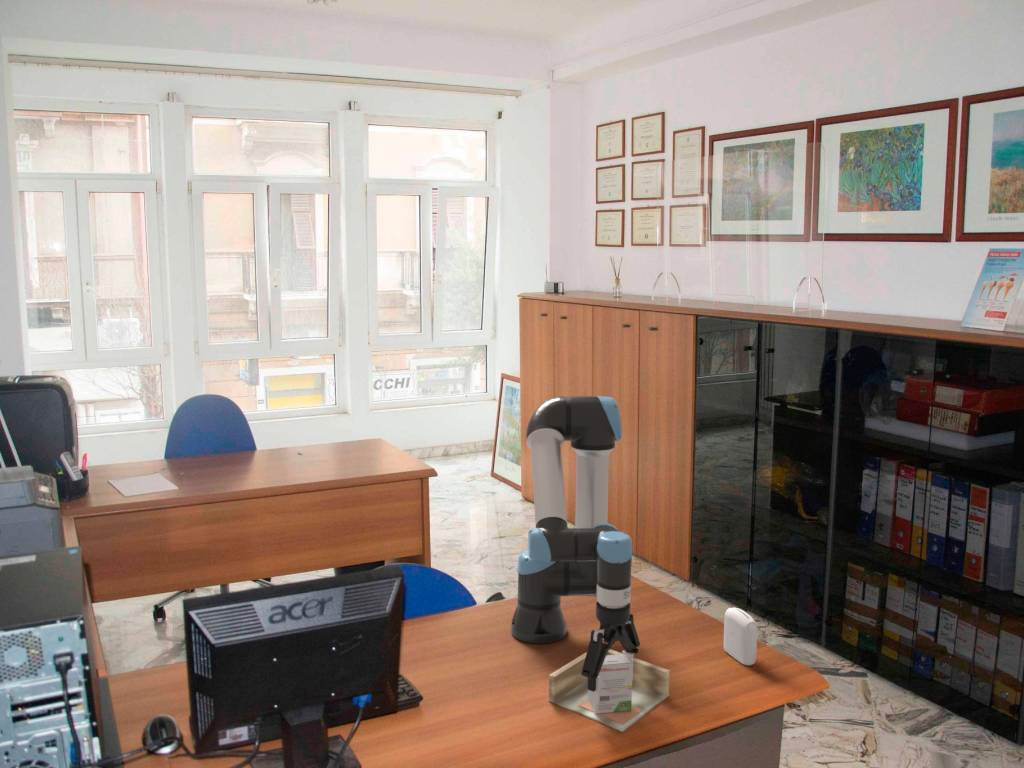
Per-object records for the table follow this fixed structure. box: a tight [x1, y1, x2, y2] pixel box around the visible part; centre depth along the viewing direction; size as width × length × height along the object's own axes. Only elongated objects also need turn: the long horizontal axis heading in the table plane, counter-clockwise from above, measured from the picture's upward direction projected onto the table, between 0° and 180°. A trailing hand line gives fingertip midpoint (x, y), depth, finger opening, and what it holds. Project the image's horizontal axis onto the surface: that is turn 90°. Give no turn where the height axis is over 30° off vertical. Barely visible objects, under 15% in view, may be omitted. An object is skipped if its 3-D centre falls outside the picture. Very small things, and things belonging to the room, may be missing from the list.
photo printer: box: [723, 607, 758, 666], centre depth 223 cm, size 10×4×12 cm, turn 20°
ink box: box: [590, 654, 633, 714], centre depth 197 cm, size 8×5×12 cm, turn 99°
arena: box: [548, 648, 670, 733], centre depth 202 cm, size 20×20×6 cm
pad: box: [579, 699, 643, 725], centre depth 198 cm, size 12×8×1 cm, turn 50°
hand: (610, 690), depth 197 cm, fingers open, 13 cm apart
